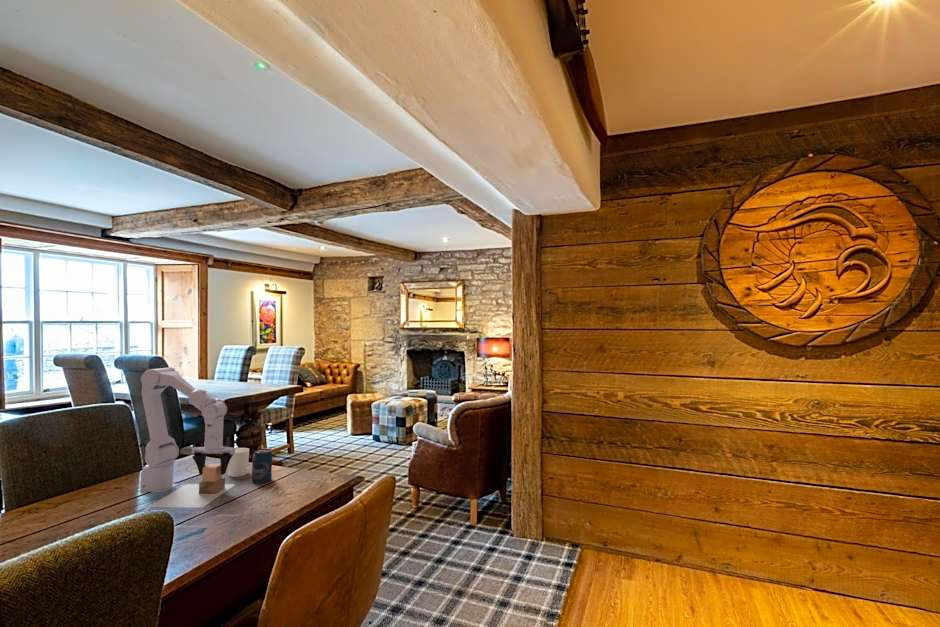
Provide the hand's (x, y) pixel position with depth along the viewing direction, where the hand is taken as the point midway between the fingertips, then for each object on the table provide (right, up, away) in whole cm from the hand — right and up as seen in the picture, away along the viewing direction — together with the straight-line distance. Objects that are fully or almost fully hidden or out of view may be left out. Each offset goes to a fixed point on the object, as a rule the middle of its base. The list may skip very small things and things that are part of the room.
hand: (212, 473), depth 163 cm
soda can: (+13, -7, +11) cm, 18 cm away
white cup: (-1, -8, +19) cm, 20 cm away
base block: (0, -6, 0) cm, 6 cm away
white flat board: (-4, -6, -4) cm, 9 cm away
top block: (0, -2, 0) cm, 2 cm away
